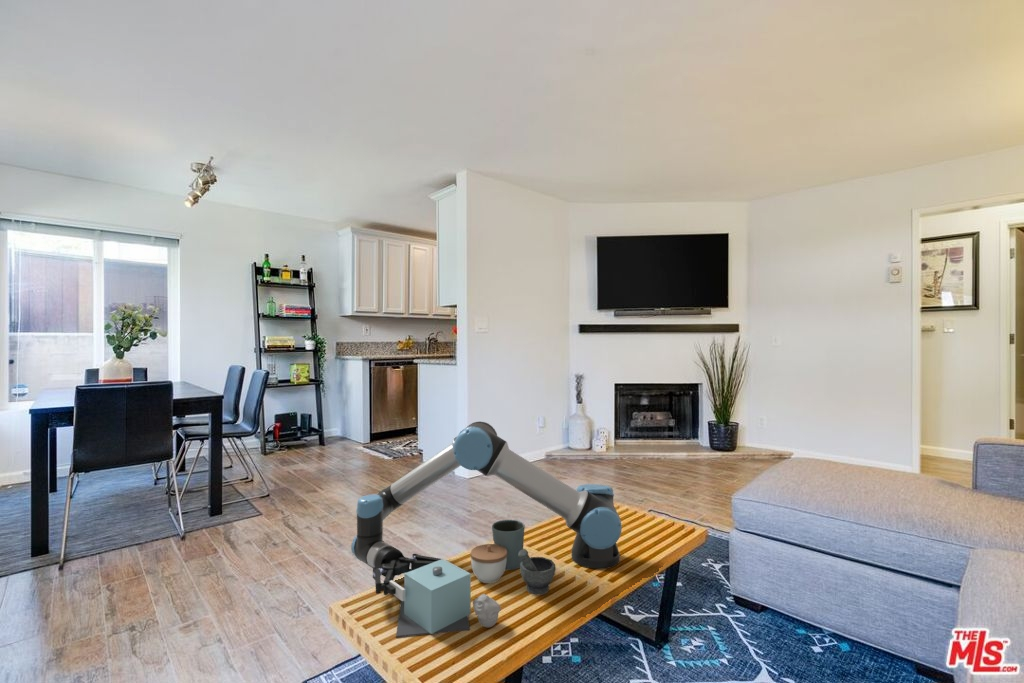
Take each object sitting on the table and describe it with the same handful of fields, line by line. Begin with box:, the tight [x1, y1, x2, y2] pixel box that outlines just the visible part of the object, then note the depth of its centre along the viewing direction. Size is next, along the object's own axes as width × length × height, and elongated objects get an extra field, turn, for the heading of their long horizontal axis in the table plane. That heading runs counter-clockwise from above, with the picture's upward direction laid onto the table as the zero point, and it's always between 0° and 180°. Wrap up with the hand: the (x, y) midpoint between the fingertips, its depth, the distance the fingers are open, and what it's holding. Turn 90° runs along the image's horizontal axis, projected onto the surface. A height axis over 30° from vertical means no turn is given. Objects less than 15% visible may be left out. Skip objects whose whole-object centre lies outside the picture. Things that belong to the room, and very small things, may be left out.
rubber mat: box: [395, 600, 470, 638], centre depth 117 cm, size 17×17×1 cm
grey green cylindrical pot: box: [491, 519, 525, 571], centre depth 144 cm, size 10×10×12 cm
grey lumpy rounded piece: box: [472, 593, 502, 628], centre depth 112 cm, size 6×7×7 cm
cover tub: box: [403, 558, 472, 635], centre depth 116 cm, size 12×12×11 cm
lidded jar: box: [470, 543, 507, 584], centre depth 135 cm, size 11×11×9 cm
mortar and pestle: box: [518, 548, 556, 596], centre depth 129 cm, size 11×9×12 cm
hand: (427, 585), depth 119 cm, fingers open, 13 cm apart
